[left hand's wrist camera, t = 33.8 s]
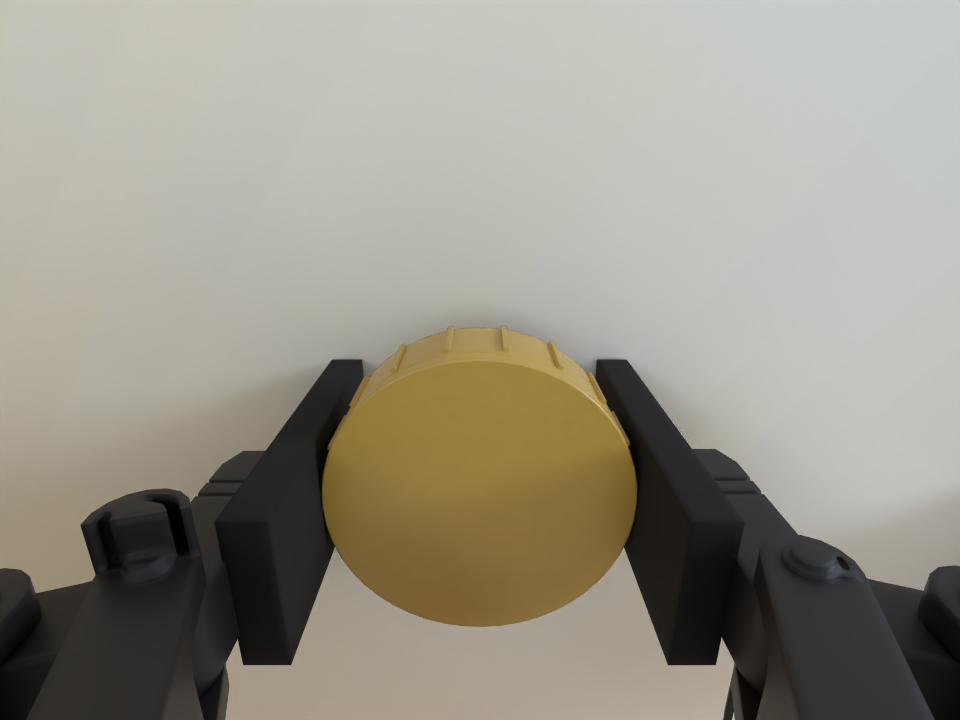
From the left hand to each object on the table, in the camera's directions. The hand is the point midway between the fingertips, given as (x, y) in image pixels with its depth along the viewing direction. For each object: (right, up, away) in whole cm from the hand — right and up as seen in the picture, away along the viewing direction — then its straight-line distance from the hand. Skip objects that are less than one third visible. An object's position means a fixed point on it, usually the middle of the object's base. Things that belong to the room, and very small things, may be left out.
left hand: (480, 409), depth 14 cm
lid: (0, -1, -4) cm, 4 cm away
